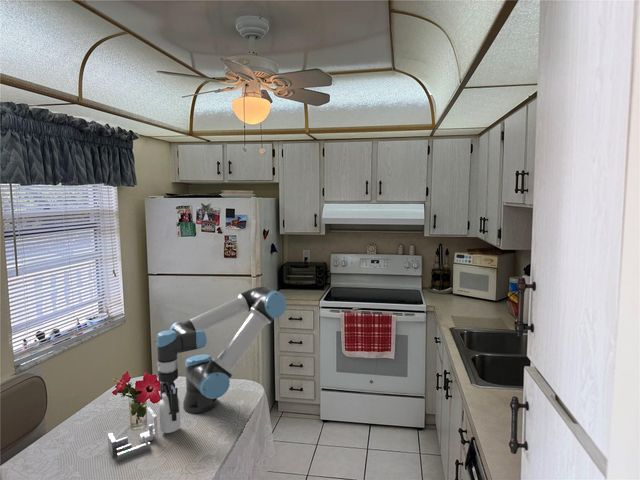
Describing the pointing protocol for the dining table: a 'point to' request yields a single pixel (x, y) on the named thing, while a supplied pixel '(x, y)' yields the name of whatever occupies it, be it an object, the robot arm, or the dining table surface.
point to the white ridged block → (124, 447)
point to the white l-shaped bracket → (150, 427)
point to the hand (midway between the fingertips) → (170, 422)
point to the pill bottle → (167, 415)
